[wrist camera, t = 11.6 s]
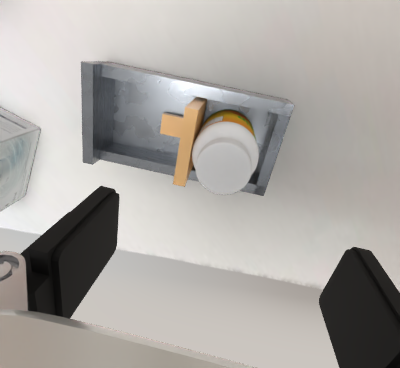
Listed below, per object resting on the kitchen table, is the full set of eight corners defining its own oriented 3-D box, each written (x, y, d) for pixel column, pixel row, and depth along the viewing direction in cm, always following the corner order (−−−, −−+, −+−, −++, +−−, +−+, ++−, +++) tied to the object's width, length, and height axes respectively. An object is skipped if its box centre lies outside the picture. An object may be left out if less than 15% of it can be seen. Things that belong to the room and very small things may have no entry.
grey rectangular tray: (286, 99, 25) (298, 107, 21) (260, 181, 29) (265, 203, 25) (108, 61, 26) (81, 61, 21) (106, 147, 30) (82, 162, 25)
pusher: (207, 98, 25) (198, 110, 19) (195, 158, 28) (184, 186, 22) (167, 89, 25) (145, 98, 19) (160, 150, 28) (138, 176, 22)
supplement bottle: (263, 143, 27) (277, 182, 18) (218, 168, 28) (211, 215, 20) (236, 97, 25) (237, 116, 16) (191, 126, 27) (170, 158, 18)
